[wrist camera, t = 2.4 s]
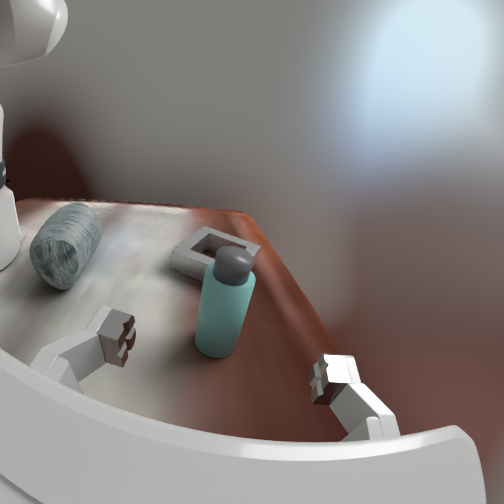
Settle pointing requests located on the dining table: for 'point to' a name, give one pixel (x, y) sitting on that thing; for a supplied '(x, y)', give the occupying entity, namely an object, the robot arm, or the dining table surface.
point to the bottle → (224, 301)
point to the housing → (190, 251)
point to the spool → (65, 245)
